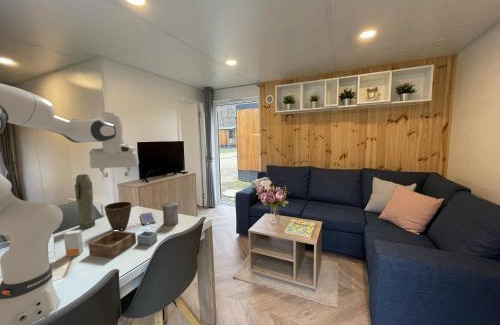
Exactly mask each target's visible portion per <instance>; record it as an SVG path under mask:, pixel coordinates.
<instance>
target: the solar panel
mask: <svg viewBox="0 0 500 325" xmlns="http://www.w3.org/2000/svg"><path fill="white" fill-rule="evenodd" d="M139 216H140V221H141V224H142V223H143V224H147V223H153V224H156V220H155V217H154V215H153V213H152V212H151V211H150V212H144V213H140V214H139ZM143 224H142V225H143Z"/></svg>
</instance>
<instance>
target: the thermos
mask: <svg viewBox="0 0 500 325" xmlns="http://www.w3.org/2000/svg"><path fill="white" fill-rule="evenodd" d="M74 193H75V199H76V204H77V207H78V208H77V209H78V218H77V220H78V221H77V222H78V225H79V230H86V229H91V228H93V227H95V226H96V215H95V213H94V202H93V200H94V190H93V182H92V181H91V178H90V176H89V174H85V173H83V174H78V175H76V178H75V184H74Z"/></svg>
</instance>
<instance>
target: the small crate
mask: <svg viewBox="0 0 500 325" xmlns="http://www.w3.org/2000/svg"><path fill="white" fill-rule="evenodd" d="M136 236H137V237H136V238H137V245H141V246H149V247H150V246H152V245H154V244H155V243H156V242H157V241H158V233H157V231H156V232H155V231H148V230H147V231H146V230H144V231H143V232H141V233H139V234H138V235H136Z"/></svg>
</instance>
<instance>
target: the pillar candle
mask: <svg viewBox="0 0 500 325" xmlns="http://www.w3.org/2000/svg"><path fill="white" fill-rule="evenodd" d="M178 206H179V204H178V202H176V201H170V202H169V201H168V202H164V203H163V204H162V213H163V225H164V226H167V227H168V226H169V227H170V226H175V225H177V224H178V223H179V210H178V209H179V208H178Z"/></svg>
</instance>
